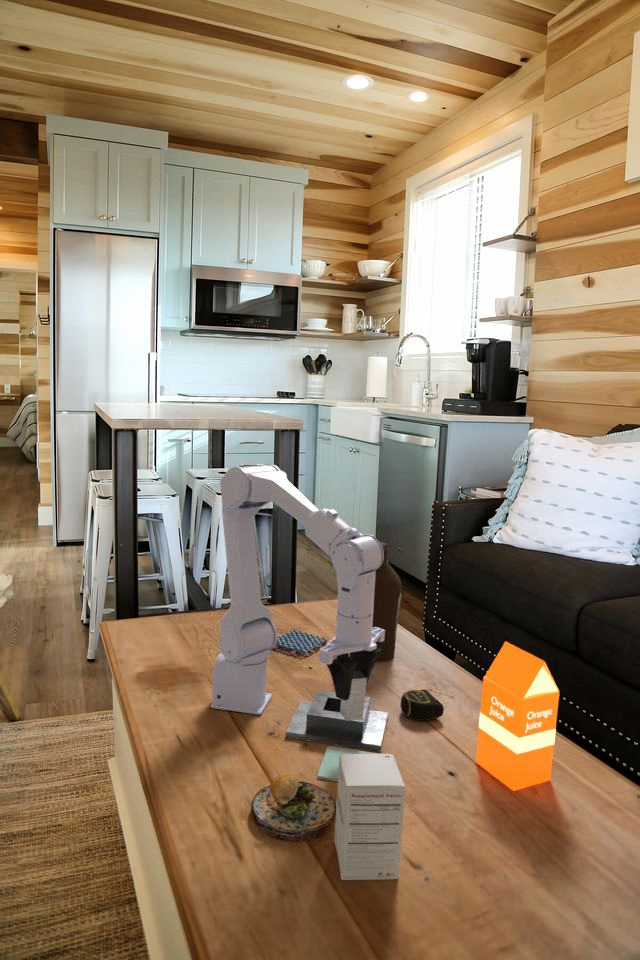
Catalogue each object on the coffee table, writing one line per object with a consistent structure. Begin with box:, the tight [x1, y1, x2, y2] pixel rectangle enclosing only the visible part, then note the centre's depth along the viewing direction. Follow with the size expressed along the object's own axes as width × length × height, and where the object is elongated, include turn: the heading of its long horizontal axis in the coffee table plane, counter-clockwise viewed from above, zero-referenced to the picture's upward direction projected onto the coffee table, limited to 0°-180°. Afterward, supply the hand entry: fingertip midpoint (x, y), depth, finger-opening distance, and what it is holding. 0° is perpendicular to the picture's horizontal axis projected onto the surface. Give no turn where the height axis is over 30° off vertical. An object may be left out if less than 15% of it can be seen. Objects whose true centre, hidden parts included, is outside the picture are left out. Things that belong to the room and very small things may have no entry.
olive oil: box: [372, 541, 403, 663], centre depth 155 cm, size 11×11×25 cm
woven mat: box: [270, 629, 329, 659], centre depth 159 cm, size 10×11×2 cm
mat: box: [316, 745, 379, 782], centre depth 111 cm, size 9×9×1 cm
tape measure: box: [400, 689, 445, 721], centre depth 129 cm, size 7×7×4 cm
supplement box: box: [334, 753, 406, 881], centre depth 88 cm, size 7×7×13 cm
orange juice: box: [475, 641, 560, 792], centre depth 110 cm, size 8×9×20 cm
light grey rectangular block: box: [340, 671, 368, 721], centre depth 113 cm, size 3×3×7 cm
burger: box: [250, 768, 336, 843], centre depth 98 cm, size 12×12×8 cm
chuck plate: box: [285, 689, 389, 752], centre depth 123 cm, size 16×12×4 cm
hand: (350, 693), depth 113 cm, fingers closed on light grey rectangular block, 4 cm apart
